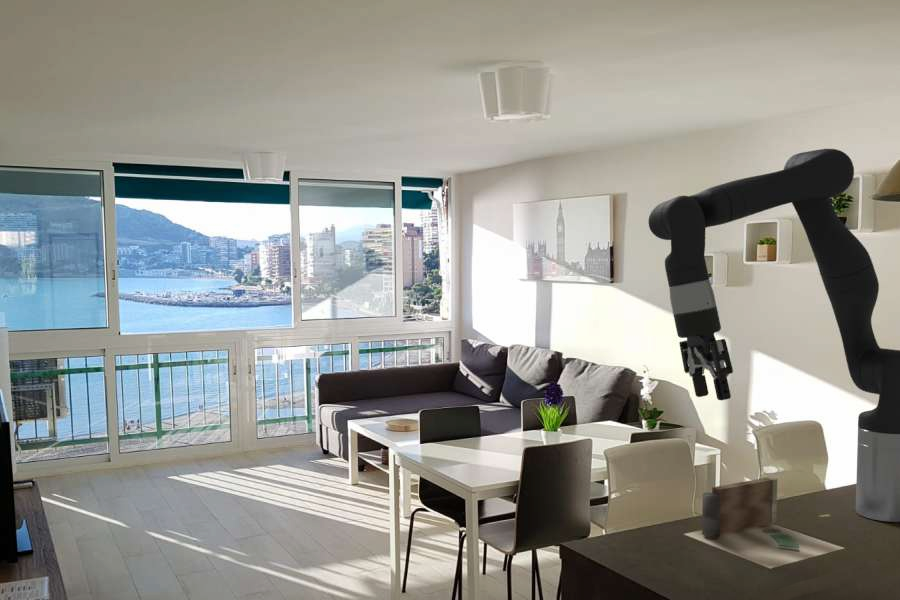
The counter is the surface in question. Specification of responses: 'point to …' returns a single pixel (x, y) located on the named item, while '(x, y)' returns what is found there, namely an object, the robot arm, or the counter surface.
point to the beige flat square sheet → (768, 545)
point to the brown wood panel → (739, 506)
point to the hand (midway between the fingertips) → (713, 397)
